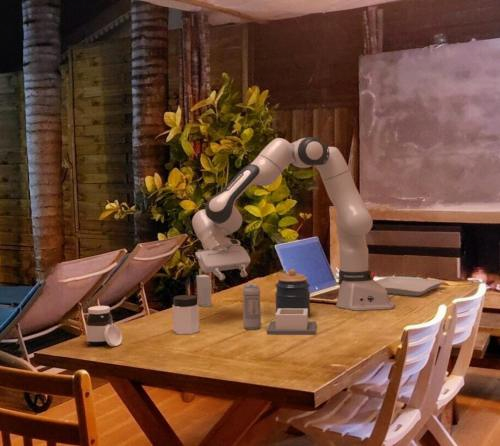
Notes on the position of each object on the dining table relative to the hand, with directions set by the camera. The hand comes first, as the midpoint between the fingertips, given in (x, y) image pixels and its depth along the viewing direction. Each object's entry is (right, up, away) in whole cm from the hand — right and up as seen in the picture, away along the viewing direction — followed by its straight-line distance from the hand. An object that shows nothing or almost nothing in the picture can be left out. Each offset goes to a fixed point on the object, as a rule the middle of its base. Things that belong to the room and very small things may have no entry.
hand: (233, 277), depth 253 cm
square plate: (+73, -11, +57) cm, 93 cm away
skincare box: (-13, -14, +34) cm, 39 cm away
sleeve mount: (+20, -17, -10) cm, 28 cm away
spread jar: (-41, -20, -24) cm, 51 cm away
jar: (-16, -18, -10) cm, 26 cm away
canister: (+22, -15, +11) cm, 29 cm away
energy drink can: (+6, -17, -6) cm, 19 cm away
